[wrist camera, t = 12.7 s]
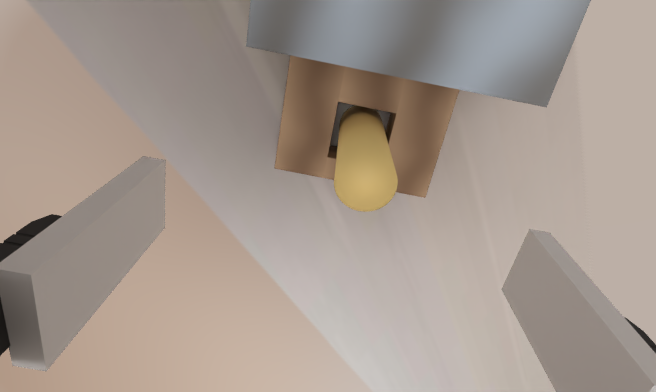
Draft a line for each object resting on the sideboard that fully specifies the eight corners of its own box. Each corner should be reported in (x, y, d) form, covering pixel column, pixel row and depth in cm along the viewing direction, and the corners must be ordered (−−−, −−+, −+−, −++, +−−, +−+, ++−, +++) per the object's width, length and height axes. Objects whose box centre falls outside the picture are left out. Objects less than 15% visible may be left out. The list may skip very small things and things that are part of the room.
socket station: (275, 154, 40) (226, 246, 24) (305, -55, 33) (262, -117, 17) (424, 184, 41) (469, 292, 25) (486, -17, 33) (608, -43, 17)
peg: (344, 100, 38) (340, 147, 25) (386, 109, 38) (404, 159, 25) (336, 141, 39) (328, 205, 27) (376, 149, 39) (388, 216, 27)
